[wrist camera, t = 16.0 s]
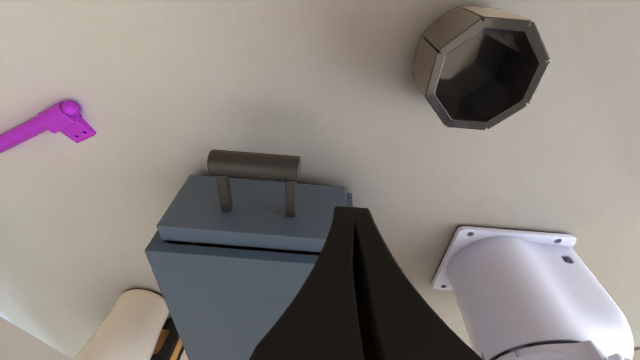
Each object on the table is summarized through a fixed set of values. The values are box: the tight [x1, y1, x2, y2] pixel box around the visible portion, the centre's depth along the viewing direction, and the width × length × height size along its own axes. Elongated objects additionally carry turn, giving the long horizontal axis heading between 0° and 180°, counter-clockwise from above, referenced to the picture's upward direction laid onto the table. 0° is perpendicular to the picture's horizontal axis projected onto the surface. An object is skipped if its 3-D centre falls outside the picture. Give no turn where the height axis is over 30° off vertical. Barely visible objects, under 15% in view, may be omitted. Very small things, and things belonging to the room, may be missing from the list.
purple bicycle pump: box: [0, 101, 96, 153], centre depth 23 cm, size 3×1×16 cm
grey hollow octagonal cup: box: [412, 6, 550, 130], centre depth 16 cm, size 5×5×4 cm
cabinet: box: [145, 193, 353, 360], centre depth 25 cm, size 14×12×7 cm
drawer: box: [157, 150, 347, 255], centre depth 23 cm, size 18×11×5 cm, turn 176°
